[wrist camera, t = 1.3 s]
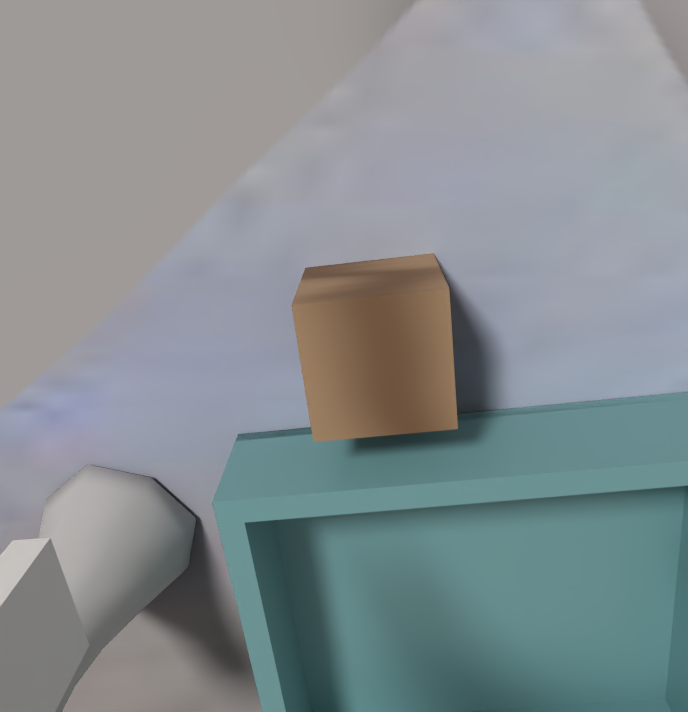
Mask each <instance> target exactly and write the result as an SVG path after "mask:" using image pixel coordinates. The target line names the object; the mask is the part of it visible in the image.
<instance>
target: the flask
mask: <svg viewBox="0 0 688 712" xmlns="http://www.w3.org/2000/svg"><path fill="white" fill-rule="evenodd" d="M195 523H196V518H195V517H194V516H193V515H192V514H191V513H190V512H189V511H188V510H187V509H185V508H184V507H183V506H182V505H181V504H180V503H179V502H178V501H177V500H175V499H174V498H173V497H172V496H171V495H170V494H169V493H168V492H167V491H165V490H164V489H163V488H162V487H161V486H160V485H159V484H158V483H157V482H155V481H154V480H153V479H152V478H151V477H146V476H142V475H137V474H132V473H127V472H122V471H117V470H112V469H107V468H102V467H97V466H92V465H86V466H85V467H84V468H82V469H81V470H80V471H79V472H78V473H77V474H75V475H74V476H73V477H72V478H71V479H69V480H68V481H67V482H66V483H65V484H64V485H62V486H61V487H60V488H59V489H58V490H56V491H55V492H54V493H53V494H52V495H50V496H49V497H48V498H47V499H46V504H45V508H44V513H43V518H42V523H41V529H40V535H39V539H40V538H51V540H52V543H53V546H54V549H55V551H56V554H57V557H58V560H59V563H60V565H61V568H62V571H63V574H64V576H65V579H66V582H67V585H68V587H69V590H70V593H71V596H72V598H73V601H74V604H75V607H76V609H77V612H78V615H79V618H80V620H81V623H82V626H83V629H84V631H85V634H86V637H87V640H88V642H89V647H88V649H87V651H86V653H85V655H84V657H83V658H82V660H81V662H80V664H79V666H78V668H77V670H76V672H75V674H74V676H73V678H72V680H71V682H70V684H69V686H68V688H67V690H66V692H65V694H64V696H63V698H62V699H61V701H60V703H59V705H58V707H57V709H56V711H55V712H62V711H63V708H64V706H65V704H66V702H67V700H68V699H69V697H70V695H71V693H72V691H73V689H74V687H75V685H76V684H77V683H78V681H79V680H80V679H81V677H82V676H83V674H84V673H85V672H86V670H87V669H88V668H89V666H90V665H91V664H92V662H93V661H94V660H95V658H96V657H97V656H98V654H99V653H100V652H101V650H102V649H103V648H104V647H105V646H106V645H107V644H108V643H109V642H110V641H111V640H112V639H113V638H114V637H115V636H116V635H117V634H118V633H119V632H120V631H121V630H122V629H123V628H124V627H125V626H126V625H127V624H128V623H129V622H130V621H131V620H132V619H133V618H134V617H135V616H136V615H137V614H138V613H139V612H140V611H141V610H142V609H143V608H144V607H146V606H147V605H148V604H149V603H150V602H151V601H152V600H153V599H154V598H155V597H157V596H158V595H159V594H160V593H161V592H162V591H163V590H164V589H165V588H166V587H168V586H169V585H170V584H171V583H172V582H173V581H174V580H175V579H176V578H177V577H178V576H180V575H181V574H182V573H183V572H184V571H185V570H186V569H187V568H188V567H189V561H190V555H191V549H192V542H193V536H194V530H195Z"/></svg>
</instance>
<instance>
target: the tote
mask: <svg viewBox="0 0 688 712" xmlns="http://www.w3.org/2000/svg"><path fill="white" fill-rule="evenodd" d="M457 421H458V429H453V430H442V431H431V432H420V433H409V434H398V435H387V436H376V437H364V438H353V439H342V440H331V441H320V442H313V436H312V430H311V428H300V429H290V430H279V431H269V432H258V433H247V434H238V436H237V439H236V441H235V444H234V447H233V449H232V452H231V455H230V457H229V460H228V462H227V465H226V468H225V470H224V473H223V476H222V478H221V481H220V483H219V486H218V489H217V491H216V494H215V497H214V499H213V502H212V503H213V507H214V511H215V515H216V520H217V524H218V528H219V532H220V536H221V540H222V545H223V549H224V553H225V557H226V561H227V566H228V570H229V574H230V578H231V582H232V586H233V591H234V595H235V599H236V603H237V607H238V611H239V616H240V620H241V624H242V628H243V632H244V637H245V641H246V645H247V649H248V653H249V657H250V662H251V666H252V670H253V674H254V678H255V683H256V687H257V691H258V695H259V699H260V703H261V708H262V712H688V392H682V393H672V394H661V395H650V396H640V397H629V398H619V399H608V400H597V401H587V402H576V403H566V404H555V405H544V406H534V407H523V408H513V409H502V410H491V411H481V412H470V413H459V414H457Z"/></svg>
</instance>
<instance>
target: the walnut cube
mask: <svg viewBox="0 0 688 712" xmlns="http://www.w3.org/2000/svg"><path fill="white" fill-rule="evenodd" d="M292 311H293V317H294V324H295V330H296V336H297V342H298V349H299V355H300V361H301V367H302V374H303V380H304V386H305V392H306V399H307V405H308V411H309V417H310V424H311V430H312V436H313V442H320V441H331V440H342V439H353V438H364V437H376V436H387V435H398V434H409V433H420V432H431V431H442V430H453V429H458V421H457V405H456V388H455V372H454V356H453V339H452V323H451V306H450V290H449V286H448V284H447V282H446V280H445V278H444V275H443V273H442V271H441V269H440V266H439V264H438V262H437V260H436V257H435V255H434V253H433V254H424V255H415V256H406V257H397V258H388V259H380V260H371V261H362V262H353V263H344V264H335V265H327V266H318V267H309V268H305V271H304V273H303V276H302V279H301V282H300V284H299V287H298V290H297V292H296V295H295V298H294V300H293V303H292Z"/></svg>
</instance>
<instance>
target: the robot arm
mask: <svg viewBox="0 0 688 712" xmlns="http://www.w3.org/2000/svg"><path fill="white" fill-rule="evenodd" d="M88 647H89V642H88V640H87V637H86V634H85V631H84V629H83V626H82V623H81V620H80V618H79V615H78V612H77V609H76V607H75V604H74V601H73V598H72V596H71V593H70V590H69V587H68V585H67V582H66V579H65V576H64V574H63V571H62V568H61V565H60V563H59V560H58V557H57V554H56V551H55V549H54V546H53V543H52V540H51V538H40V539H27V540H15V541H12V542H11V543H10V544H9V546H8V547H7V548H6V549H5V551H4V552H3V553H2V554H1V556H0V712H55V711H56V709H57V707H58V705H59V703H60V701H61V699H62V698H63V696H64V694H65V692H66V690H67V688H68V686H69V684H70V682H71V680H72V678H73V676H74V674H75V672H76V670H77V668H78V666H79V664H80V662H81V660H82V658H83V657H84V655H85V653H86V651H87V649H88Z"/></svg>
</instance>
